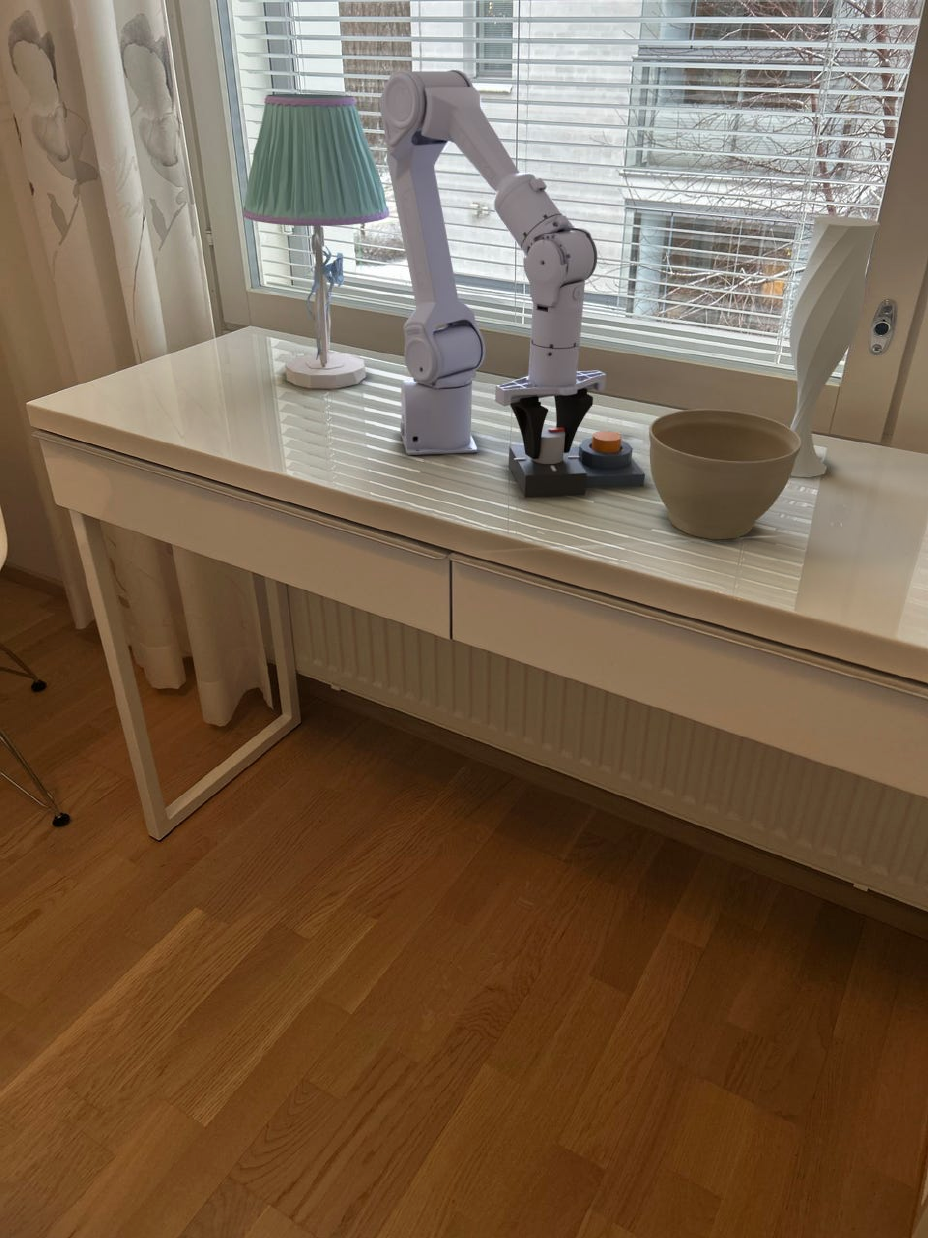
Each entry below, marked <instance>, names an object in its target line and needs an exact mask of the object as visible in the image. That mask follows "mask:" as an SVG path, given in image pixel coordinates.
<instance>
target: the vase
mask: <svg viewBox="0 0 928 1238" xmlns="http://www.w3.org/2000/svg"><path fill="white" fill-rule="evenodd" d="M812 223H813V227H812V233H811V238H810V241H809V242H810V243H809V249H808V254H807V260H806V266H805V268H804V270H803V273H802V275H801V278H800V280H799V282H798V286H797V288H796V291H795V295H794V299H793V304H792V309H791V318H790V319H791V320H790V327H789V351H790V355H791V360H792V364H793V369H794V372H795V377H796V382H797V401H796V409H795V414H794V417H793V418H792V422H791V424H790V427H789V428H791V429H792V430H793V431H795V432H796V433H797V434H798V435H799V437H800V439H801V448H800V451H799V453H798V455H797V457H796V459H795V462H794V466H793V469H792V472H791V475H790V477H796V478H797V477H798V478H799V477H800V478H812V477H817V476H821V475H825V474H826V472H827V469H828V466H827V465H826V464H825V463H823V462H822V461H821V460H820V458H819V457H818V455H817V453H816V450H815V446H814V441H813V431H812V425H813V418H814V417H813V416H814V410H815V407H816V405H817V403H818V402H817V401H818V400H819V397H820V395H821V392H822V391H823V389H824V387H825V386H826V384H827V383H828V381H829V379H830V378H831V377H832V375H833V373H835V370H836V369H837V368H838V366H839V365H840V363H841V361H842V360H843V358H844V357H845V355H846V353H847V351H848V349H849V348H850V345H852V343H853V340H854V338H855V335H856V333H857V330H858V327H859V325H860V321H861V318H862V313H863V309H864V302H865V296H866V295H865V294H866V279H867V268H868V265H869V261H870V256H871V251H872V246H873V243H874V238H875V235H876V233H877V231H878V229H879V227H880V225H881V223H879V221H877V220H872V219H868V218H862V217H853V216H843V215H841V216H838V215H825V216H824V215H821V216H816V217H812Z"/></svg>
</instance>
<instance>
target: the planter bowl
mask: <svg viewBox="0 0 928 1238" xmlns="http://www.w3.org/2000/svg"><path fill="white" fill-rule="evenodd" d="M648 429H649V431H648V438H649V465H650V466H649V467H650V471H651V477H652V481H653V484H654V486H655V489H656V491H657V493H658V495H659V498H660V499H661V501H662V503H663V504H664V506H665V508H666V509H667V511H668V512H667V515H668V516H667V517H668V520H669V522H670V523H671V525H673V526H674V527H675V528H676V529H678V530H679V531H681V532H683V533H686V534H688V535H691V536H694V537H699V538H703V539H712V540H730V539H736V538H739V537H743V536H745V535H747V534H749V533H750V532H751V531H752V529H753V528H754V526H755V523H756V521H757V520H759V518H761V517H762V516H763V515H765V513H766V512H768V510H769V509H770V508H771V507H772V506H773V505H774V504H775V502H777V500H778V499H779V497H780V496H781V494H782V492H783V491H784V490H785V488H786V486H787V484H788V482H789V479H790V477H791V476H790V475H791V472H792V469H793V466H794V462H795V459H796V457H797V455H798V453H799V451H800V448H801V439H800V437H799V435H798V434H797V433H796V432H795V431H793V430H792V429H791V428H790V427H789V426H788V425H786V424H785V423H781V422H780V421H777V420H775V419H772V418H770V417H766V416H762V415H759V414H754V413H749V412H744V411H738V410H731V409H719V408H717V409H716V408H701V409H699V408H698V409H685V410H677V411H673V412H669V413H666V414H663V415H661V416H659V417H657V418H655V419H654V420H653V421H652V422H651V423H650V426H649V428H648Z"/></svg>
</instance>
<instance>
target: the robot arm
mask: <svg viewBox="0 0 928 1238" xmlns="http://www.w3.org/2000/svg"><path fill="white" fill-rule="evenodd" d="M378 106H379V111H380V116H381V121H382V127H383V131H384V136H385V142H386V160H387V166H388V171H389V176H390V181H391V186H392V191H393V197H394V201H395V207H396V211H397V216H398V222H399V227H400V232H401V237H402V241H403V247H404V252H405V257H406V262H407V267H408V272H409V273H408V274H409V277H410V283H411V288H412V292H413V297H414V302H415V309H414V310H413V312H412V313H411V314H410V316H409V317H408V319H407V320H406V322H405V323H404V324H403V333H404V350H403V358H404V364H405V367H406V369H407V372H408V373H409V374H410V377H412V379H410V380H403V381H401V388H400V390H401V391H400V393H401V394H400V396H401V397H400V398H401V400H400V401H401V403H400V404H401V406H400V407H401V422H400V436H401V438H402V442H403V445H404V449H405V453H406V455H408V456H414V455H415V456H418V455H420V456H421V455H442V454H443V455H445V454H447V455H449V454H471V453H477V452H478V447H477V445H476V442H475V440H474V439H473V436H472V407H473V406H472V404H473V403H472V401H473V396H472V395H473V379H474V378H476V376H477V369H479V368H480V367H481V366H482V365H483V363H484V361H485V358H486V353H487V351H486V350H487V349H486V342H485V338H484V336H483V334H482V332H481V330H480V328H479V327H478V324H477V321H476V316H475V312H474V310H472V309H471V308H470V307H469V306H468V305H467V304H465V303H464V302H463V301H461V300H460V298H459V295H458V290H457V283H456V279H455V274H454V267H453V261H452V257H451V252H450V245H449V240H448V235H447V230H446V224H445V218H444V213H443V208H442V203H441V197H440V191H439V186H438V182H437V181H438V180H437V174H436V169H435V165H436V163H437V161H438V159H439V158H440V156H441V154H442V153H443V152H444V151H445V150H446V149H447V148H448V147H449V146H450V145H451V144H452V143H453V144H455V146H456V147H457V149H458V150H459V151H460V152H461V153H462V154H463V156H464V157H465V158H466V159H467V161H468V162H469V163H470V165H471V166H472V167H473V168H474V169H475V170H476V172H477V173H478V174H479V175H480V177H481V178H482V179H483V180H484V181H485V183H486V184H487V185H488V186H489V188H490V189H491V190H492V191H493V193H494V199H493V210H494V212H495V214H496V215H497V217H498V218H499V220H500V221H501V222H502V224H503V225H504V227H505V229H506V230H507V231H508V232H509V234H510V235H511V237H512V238H513V240H514V241H515V242H516V244H517V246H518V247H519V248H520V250H521V251H522V253H523V255H524V256H525V257H523V258H522V261H523V263H522V265H523V270H524V274H525V276H526V278H527V280H528V283H529V287H530V288H529V298H531V303H532V307H531V309H532V310H531V325H530V342H529V343H530V344H529V359H528V375H526V376H524V377H521V378H517V379H515V380H513V381H509V382H506V383H503V384H496V385H495V395H494V396H495V397H494V398H495V399H494V402H495V403H497V404H499V405H501V406H502V407H508V406H510V408H511V410H512V412H513V414H514V416H515V418H516V421H517V424H518V426H519V430H520V434H521V439H522V443H523V445H524V449H525V454H526V455H527V456H529V457H530V458H532V459H538V458H539V455H540V448H541V436H542V430H543V427H545V426H544V425H545V421H546V418H547V416H548V413H549V411H550V410H549V409H548V408H547V407H545V406H543V405H542V401H540V399H544V398H549V397H553V398H554V405H555V417H556V418H555V419H556V420H555V421H556V422H555V427H556V428H562V427H563V428H564V431H565V442H564V453H569V451H570V448H571V447H573V443H574V439H575V437H576V434H577V432H578V430H579V427H580V424H581V423H582V421H583V420H584V418H585V416H586V415H587V413H588V412H589V410H590V409H591V408H592V407H593V403H594V397H593V395H590V394H588V391H593V390H595V391H604V390H606V384H607V373H605V372H603V371H600V370H598V369H594V370H581V371H579V370H578V368H579V357H580V343H581V333H582V321H583V311H584V309H583V308H584V298H585V297H584V296H585V286H586V281H587V280H588V279H590V277H592V276H593V274H594V272H595V271H596V268H597V265H598V250H597V245H596V243H595V240H594V239H593V237H592V234H591V233H590V232H589V231H588V230H587V229H585V228H583V227H579V226H574V225H573V224H572V223H571V221H570V220H569V218H568V217H567V216H566V215H563V213H562V212H561V210H560V209H559V208H558V206H557V205H556V203H555V202H554V201H553V199H552V198H551V196H550V195H549V194H548V192H547V190H546V189H547V187H548V186H547V184H546V183H545V181H544V180H543V178H541V177H539V178H537V176H535V174H533V173H521V172H520V170H519V169H518V167H517V166H516V163H514V160H513V159H512V157H511V156H510V154H509V153H508V151H507V149H506V147H505V146H504V144H503V143H502V141H501V139H500V137H499V135H498V134H497V133H496V130H495V129H494V127H493V126H492V124H491V123H490V121H489V119H488V118H487V116H486V115H485V113H484V111H483V108H482V95H481V93H480V92H479V90H477V89H476V87H475V86H474V85H473V82H472V81H471V79H470V77H469V76H468V75H467V74H466V73H465V72H463V71H462V70H459V69H450V70H446V71H444V70H442V71H441V70H440V71H436V70H435V71H433V70H431V71H430V70H429V71H428V70H426V71H423V70H422V71H421V70H419V71H418V70H417V71H415V70H414V71H411V70H408V69H398V70H396V71H395V72H393V73H392V74H391V75H390V76H389V78H388V80H387V81H386V84H385V86H384V88H383V91H382V93H381V96H380V98H379V100H378ZM442 325H445V327H441V328H438V327H439V326H442ZM436 328H438V329H436Z"/></svg>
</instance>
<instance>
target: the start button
mask: <svg viewBox="0 0 928 1238" xmlns="http://www.w3.org/2000/svg"><path fill="white" fill-rule="evenodd" d="M591 438H592V449H593V450H595V451H597V452H603V453H615V452H619V451H620V446H621V441H622V435H621V434H620V433H618V432H614V431H609V430H601V431H596V432H593V434H592V437H591Z"/></svg>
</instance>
